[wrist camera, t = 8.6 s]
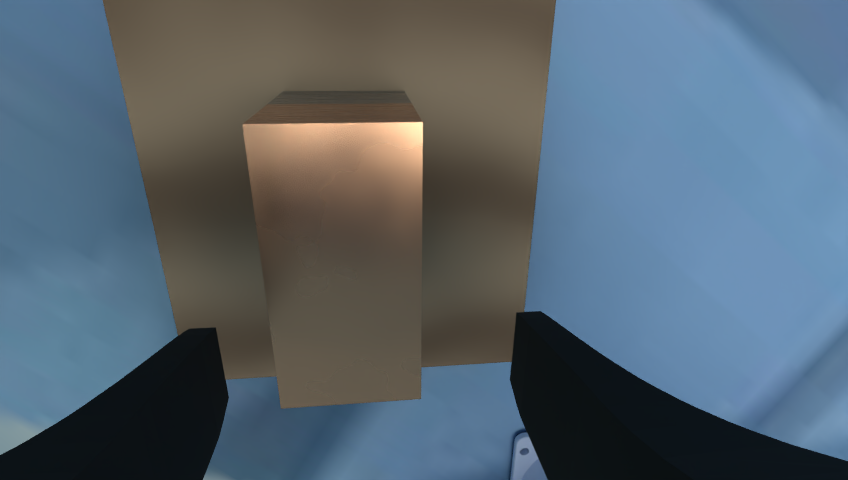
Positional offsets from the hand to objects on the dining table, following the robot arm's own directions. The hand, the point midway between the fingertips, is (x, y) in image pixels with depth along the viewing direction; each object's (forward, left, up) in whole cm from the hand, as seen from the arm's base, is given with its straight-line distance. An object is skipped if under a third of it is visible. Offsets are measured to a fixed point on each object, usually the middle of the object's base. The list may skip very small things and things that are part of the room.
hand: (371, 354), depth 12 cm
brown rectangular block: (+1, +1, -7) cm, 8 cm away
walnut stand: (+1, +1, -10) cm, 10 cm away
